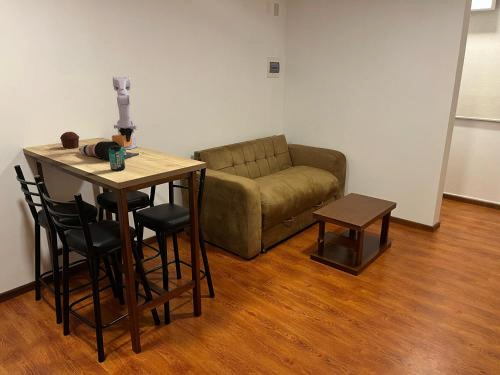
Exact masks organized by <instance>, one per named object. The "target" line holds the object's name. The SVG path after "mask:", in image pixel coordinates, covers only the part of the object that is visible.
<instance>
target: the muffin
mask: <svg viewBox="0 0 500 375" xmlns="http://www.w3.org/2000/svg"><path fill="white" fill-rule="evenodd" d="M59 138H60V139H59V140H60V142H61V145H62V147H63V149H65V150H74V149H79V148H80V146H79V145H80V144H79V143H80V136H79V135H78V134H77V133H76V132H74V131H65V132H64V133H62V134H61V136H60V137H59Z"/></svg>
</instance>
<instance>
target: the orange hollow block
mask: <svg viewBox="0 0 500 375" xmlns="http://www.w3.org/2000/svg"><path fill="white" fill-rule="evenodd" d="M111 141H112V142H116V143H118V144H119V145H121V146H122V147H125V146H129V145H132V137H131V138H130V142H127V140H126V135H123V136H122V135H121V134H119V133H118V134H114V135H111Z"/></svg>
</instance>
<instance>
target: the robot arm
mask: <svg viewBox="0 0 500 375" xmlns="http://www.w3.org/2000/svg"><path fill="white" fill-rule="evenodd" d="M130 78H131V77H130V76H113V77H112V86H113V90H114V91H115V92H117V97H116V102H117V104H116V105H117V108H118V115H119V119H118V120H117V122H116V124H113V129H117V133H118V134H121V135H122V136H123V135H126V140H127V142H130V138H131V137H132V145H129V146H125V147H122V148H123V149H126V150H131V149H134V148H135V149H136V148H137V147H138V145H137V141H136V140H137V138H136V135H135V134H134V133H135V130H139V126H138V125H134V121H133V120H132V119H131V111H130V105H131V101H130V96H129V92H128V91H130V89H131V79H130Z"/></svg>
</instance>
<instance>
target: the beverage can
mask: <svg viewBox="0 0 500 375" xmlns="http://www.w3.org/2000/svg"><path fill="white" fill-rule="evenodd" d="M109 159H110V160H109V168H110V170H111V171H112V172H121V171H124V170H125V169H126V162H125V160H126V159H125V160H124V150H123V148H122V146H121V145H113V146H110V148H109Z"/></svg>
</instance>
